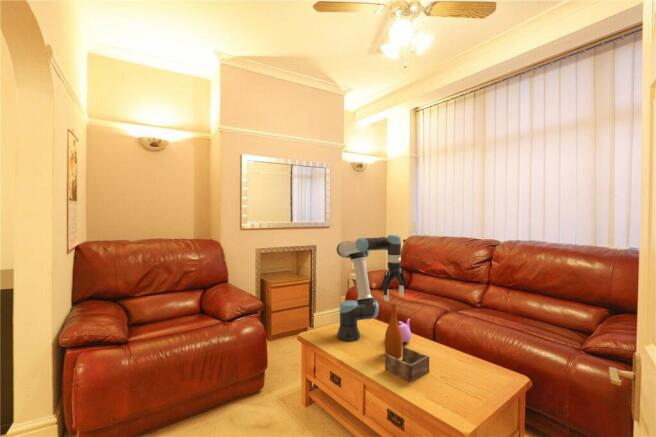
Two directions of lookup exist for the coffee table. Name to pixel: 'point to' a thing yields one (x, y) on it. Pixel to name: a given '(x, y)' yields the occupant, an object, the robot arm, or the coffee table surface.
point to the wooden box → (408, 365)
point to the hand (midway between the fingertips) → (394, 298)
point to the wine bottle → (393, 335)
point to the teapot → (405, 331)
